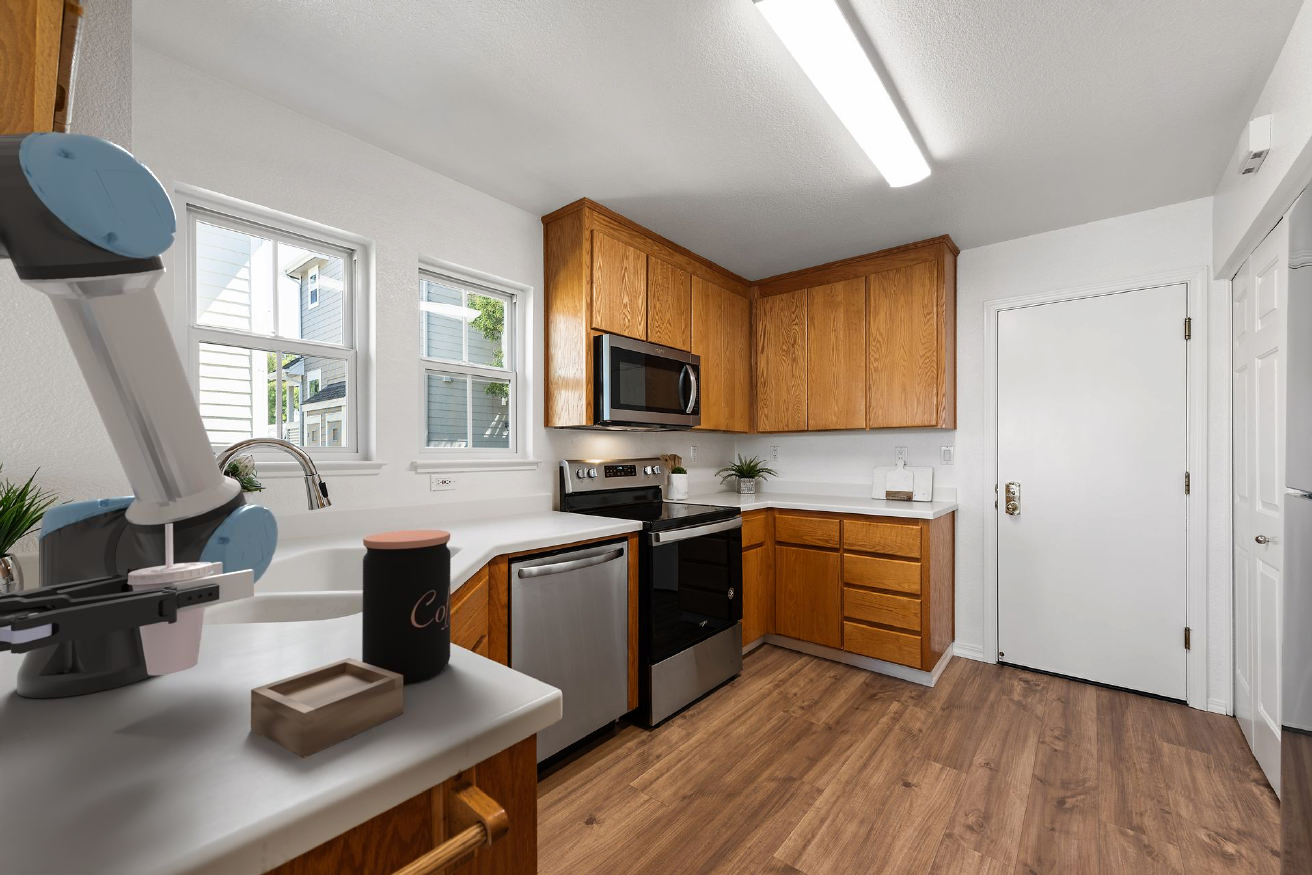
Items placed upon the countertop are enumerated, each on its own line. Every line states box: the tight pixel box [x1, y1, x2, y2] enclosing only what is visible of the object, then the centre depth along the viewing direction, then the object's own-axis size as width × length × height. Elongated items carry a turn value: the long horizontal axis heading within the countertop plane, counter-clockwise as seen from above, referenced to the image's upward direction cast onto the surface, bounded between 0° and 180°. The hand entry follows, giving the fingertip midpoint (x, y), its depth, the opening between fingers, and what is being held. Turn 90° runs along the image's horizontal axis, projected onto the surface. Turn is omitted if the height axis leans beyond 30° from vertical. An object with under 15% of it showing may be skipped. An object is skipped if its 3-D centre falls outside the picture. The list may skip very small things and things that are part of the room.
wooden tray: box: [250, 657, 404, 758], centre depth 61 cm, size 10×10×4 cm
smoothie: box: [127, 524, 213, 676], centre depth 55 cm, size 6×6×14 cm
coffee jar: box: [361, 529, 452, 686], centre depth 75 cm, size 11×11×18 cm
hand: (235, 578), depth 60 cm, fingers closed on smoothie, 6 cm apart
